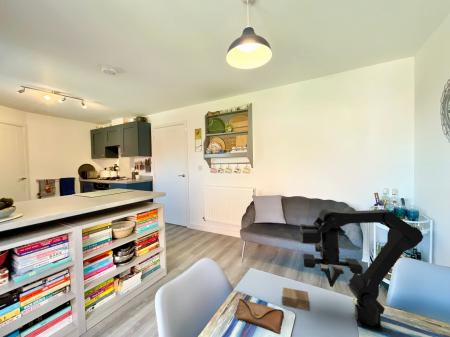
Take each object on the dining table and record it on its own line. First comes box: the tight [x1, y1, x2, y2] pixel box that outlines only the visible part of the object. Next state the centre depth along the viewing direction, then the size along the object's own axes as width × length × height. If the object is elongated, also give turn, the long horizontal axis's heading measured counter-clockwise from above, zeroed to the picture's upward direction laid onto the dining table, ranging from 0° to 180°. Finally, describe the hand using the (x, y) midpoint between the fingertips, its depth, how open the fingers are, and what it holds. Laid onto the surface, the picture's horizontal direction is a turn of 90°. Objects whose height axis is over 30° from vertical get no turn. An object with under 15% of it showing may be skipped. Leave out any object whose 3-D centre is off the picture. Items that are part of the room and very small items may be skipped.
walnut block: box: [281, 287, 310, 312], centre depth 79 cm, size 4×6×10 cm
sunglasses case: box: [234, 298, 285, 335], centre depth 72 cm, size 18×7×7 cm
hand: (331, 286), depth 70 cm, fingers closed
